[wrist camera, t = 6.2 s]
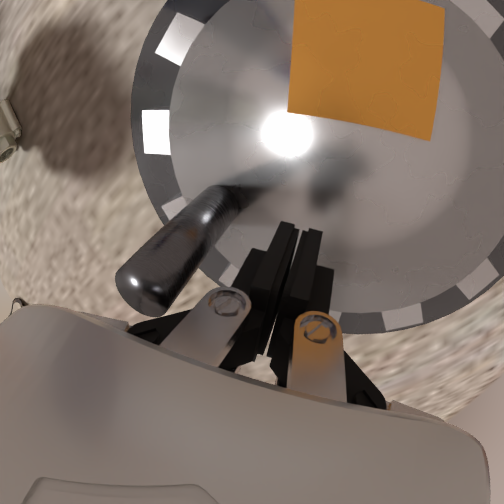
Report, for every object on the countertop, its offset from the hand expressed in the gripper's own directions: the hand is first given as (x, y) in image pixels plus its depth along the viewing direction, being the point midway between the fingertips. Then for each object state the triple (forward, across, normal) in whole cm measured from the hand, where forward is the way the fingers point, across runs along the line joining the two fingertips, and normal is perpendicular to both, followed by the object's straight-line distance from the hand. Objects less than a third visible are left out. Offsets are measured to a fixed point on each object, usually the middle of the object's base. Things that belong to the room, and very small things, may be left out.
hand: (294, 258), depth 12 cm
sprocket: (+3, -1, -4) cm, 5 cm away
